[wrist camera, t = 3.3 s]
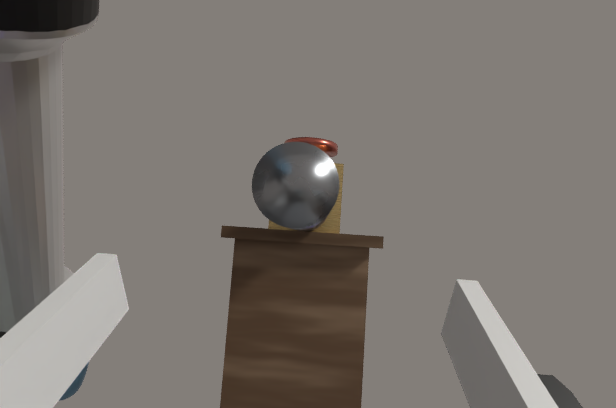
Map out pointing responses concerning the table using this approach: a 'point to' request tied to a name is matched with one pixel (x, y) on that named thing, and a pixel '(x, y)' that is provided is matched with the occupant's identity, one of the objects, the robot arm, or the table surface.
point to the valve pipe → (300, 186)
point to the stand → (296, 319)
